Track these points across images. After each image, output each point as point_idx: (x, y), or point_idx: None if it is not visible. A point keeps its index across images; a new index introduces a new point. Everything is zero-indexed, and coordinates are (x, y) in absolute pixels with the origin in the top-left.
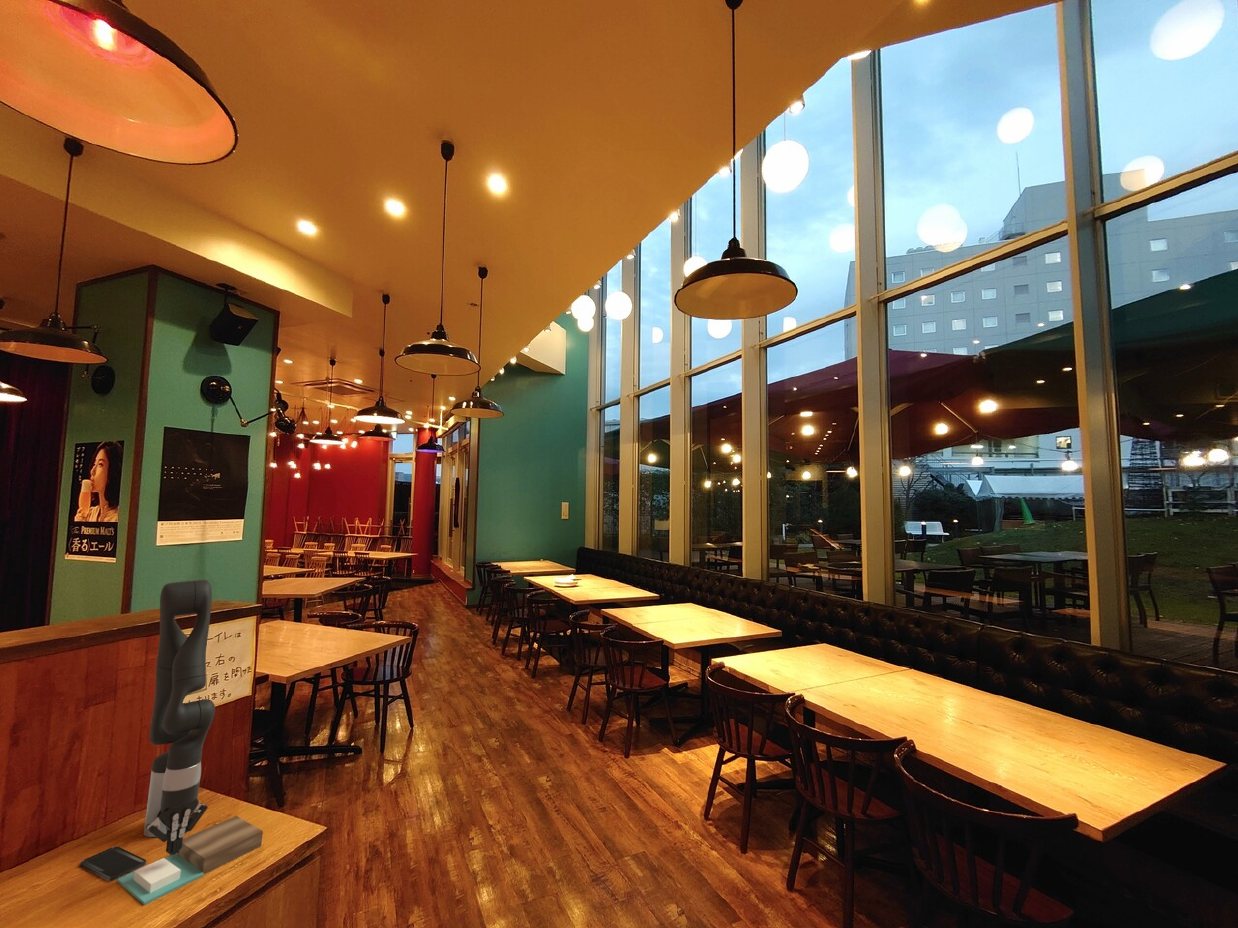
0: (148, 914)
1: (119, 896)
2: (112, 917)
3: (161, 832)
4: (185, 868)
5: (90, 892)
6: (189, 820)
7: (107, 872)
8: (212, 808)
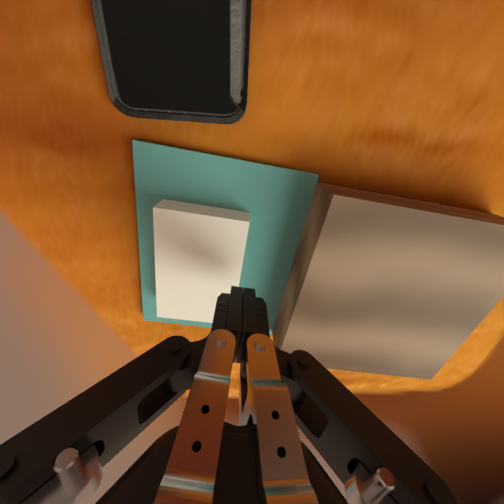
0: (140, 345)
1: (117, 232)
2: (85, 297)
3: (128, 438)
4: (267, 283)
5: (55, 114)
6: (321, 398)
7: (120, 26)
8: None
